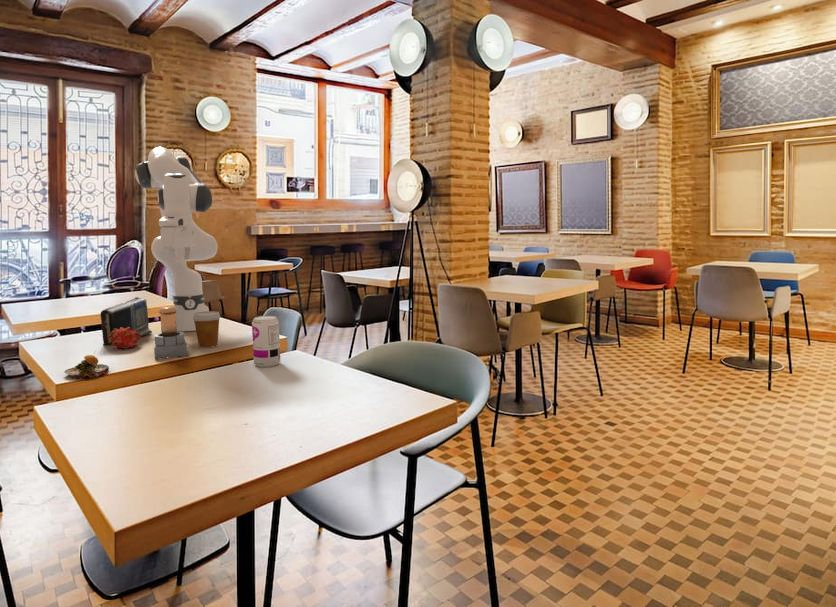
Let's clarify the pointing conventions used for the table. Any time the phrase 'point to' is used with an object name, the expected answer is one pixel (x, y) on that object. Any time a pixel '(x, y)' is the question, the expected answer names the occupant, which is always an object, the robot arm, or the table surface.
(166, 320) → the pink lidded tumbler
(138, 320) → the radio
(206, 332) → the disposable coffee cup
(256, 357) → the supplement can
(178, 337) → the valve body
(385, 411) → the table surface
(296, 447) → the table surface
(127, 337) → the dragon fruit
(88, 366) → the burger
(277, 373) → the table surface
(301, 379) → the table surface
